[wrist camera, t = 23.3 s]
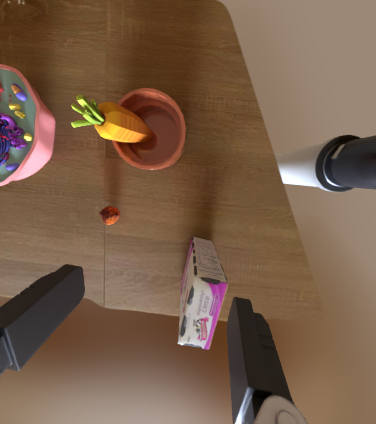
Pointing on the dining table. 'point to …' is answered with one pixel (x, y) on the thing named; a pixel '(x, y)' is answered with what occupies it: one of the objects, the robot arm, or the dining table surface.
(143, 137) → the carrot
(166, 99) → the mixing bowl
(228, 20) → the dining table surface
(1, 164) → the cell model
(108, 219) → the meatball
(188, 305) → the candy bar box
